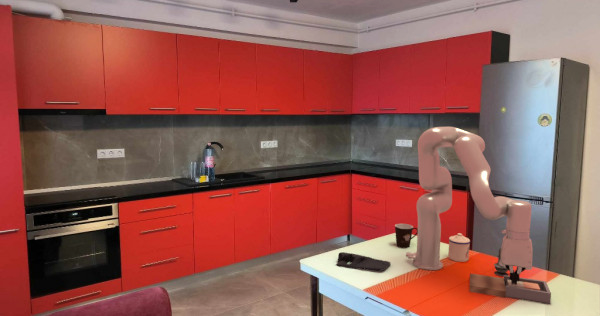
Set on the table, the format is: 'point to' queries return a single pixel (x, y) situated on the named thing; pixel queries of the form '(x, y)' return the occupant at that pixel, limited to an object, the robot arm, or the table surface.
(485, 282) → the board
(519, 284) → the cream white block
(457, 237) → the teacup with lid
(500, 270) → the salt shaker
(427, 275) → the table surface
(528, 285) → the salmon orange block
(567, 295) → the table surface
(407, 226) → the coffee mug
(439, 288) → the table surface
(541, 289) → the box
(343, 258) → the dark slate chunk
